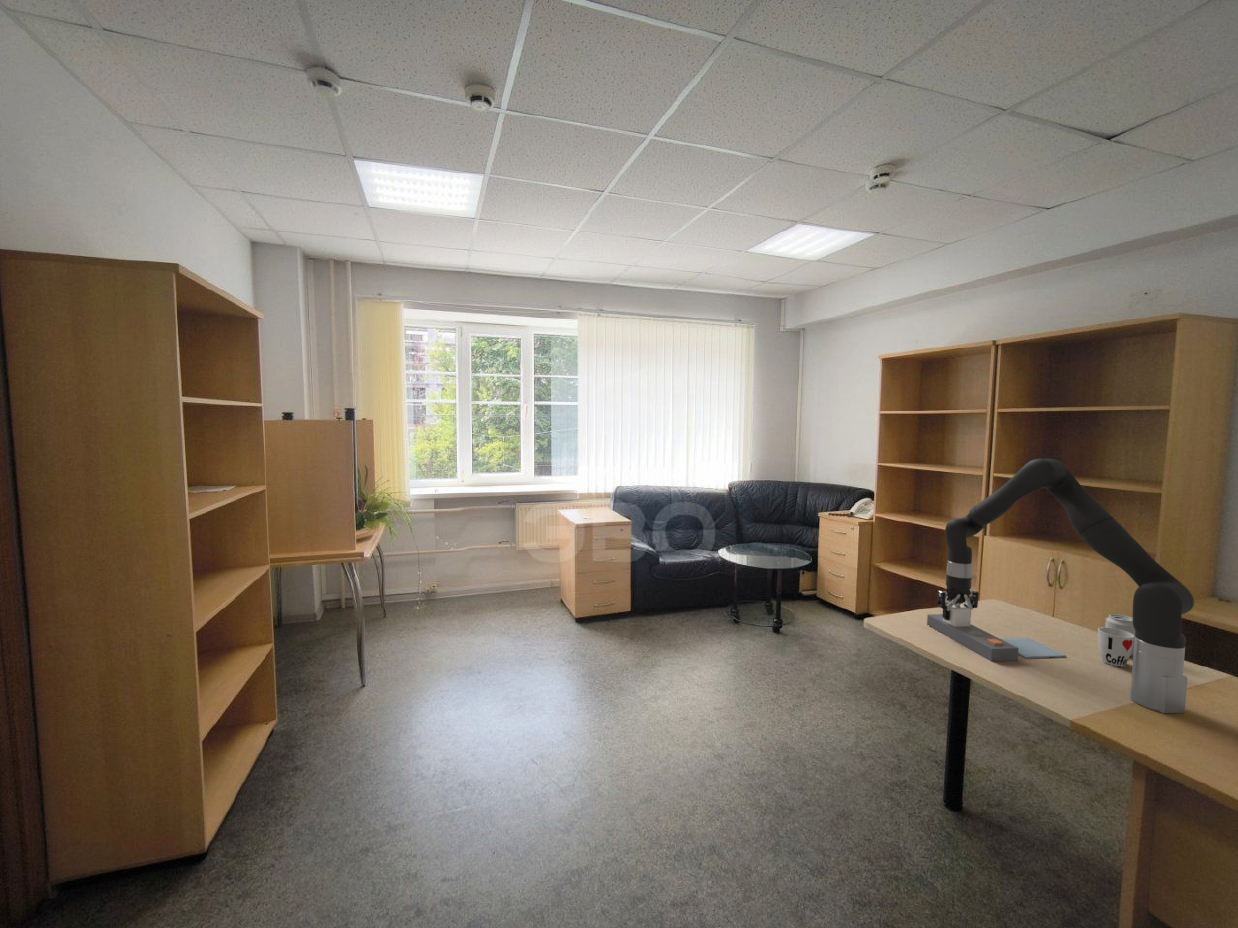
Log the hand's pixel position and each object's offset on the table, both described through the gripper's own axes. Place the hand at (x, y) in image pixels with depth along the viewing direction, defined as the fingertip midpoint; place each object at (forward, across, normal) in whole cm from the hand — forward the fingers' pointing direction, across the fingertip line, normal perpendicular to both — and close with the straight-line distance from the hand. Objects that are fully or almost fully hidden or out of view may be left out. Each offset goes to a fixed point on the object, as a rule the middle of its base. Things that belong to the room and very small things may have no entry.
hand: (956, 619), depth 183 cm
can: (+6, +43, -18) cm, 47 cm away
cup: (+6, +33, -25) cm, 42 cm away
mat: (+5, +15, -13) cm, 21 cm away
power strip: (+5, 0, -6) cm, 8 cm away
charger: (+3, 0, 0) cm, 3 cm away
